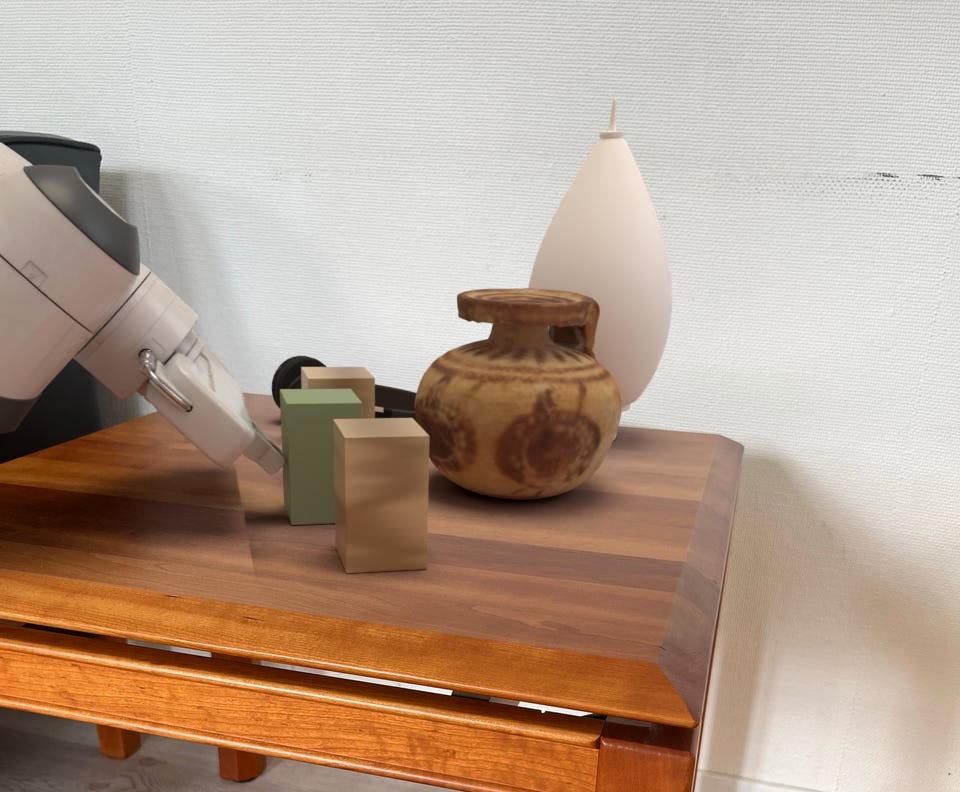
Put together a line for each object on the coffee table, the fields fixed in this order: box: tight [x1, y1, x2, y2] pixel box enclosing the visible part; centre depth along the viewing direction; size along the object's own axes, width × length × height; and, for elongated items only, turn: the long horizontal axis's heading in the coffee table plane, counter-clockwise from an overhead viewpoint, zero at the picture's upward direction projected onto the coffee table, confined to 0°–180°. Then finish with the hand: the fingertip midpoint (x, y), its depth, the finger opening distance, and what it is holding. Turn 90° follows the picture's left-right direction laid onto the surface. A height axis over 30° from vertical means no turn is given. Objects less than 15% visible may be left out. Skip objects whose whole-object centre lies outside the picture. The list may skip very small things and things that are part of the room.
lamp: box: [527, 97, 673, 436], centre depth 112 cm, size 16×16×35 cm
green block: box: [279, 389, 362, 526], centre depth 85 cm, size 6×6×10 cm
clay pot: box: [415, 287, 622, 501], centre depth 94 cm, size 19×19×20 cm
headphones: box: [271, 355, 417, 421], centre depth 117 cm, size 17×8×20 cm
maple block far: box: [301, 366, 376, 419], centre depth 96 cm, size 6×6×10 cm
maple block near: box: [333, 418, 430, 574], centre depth 76 cm, size 6×6×10 cm
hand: (278, 464), depth 84 cm, fingers closed, pressing on green block
